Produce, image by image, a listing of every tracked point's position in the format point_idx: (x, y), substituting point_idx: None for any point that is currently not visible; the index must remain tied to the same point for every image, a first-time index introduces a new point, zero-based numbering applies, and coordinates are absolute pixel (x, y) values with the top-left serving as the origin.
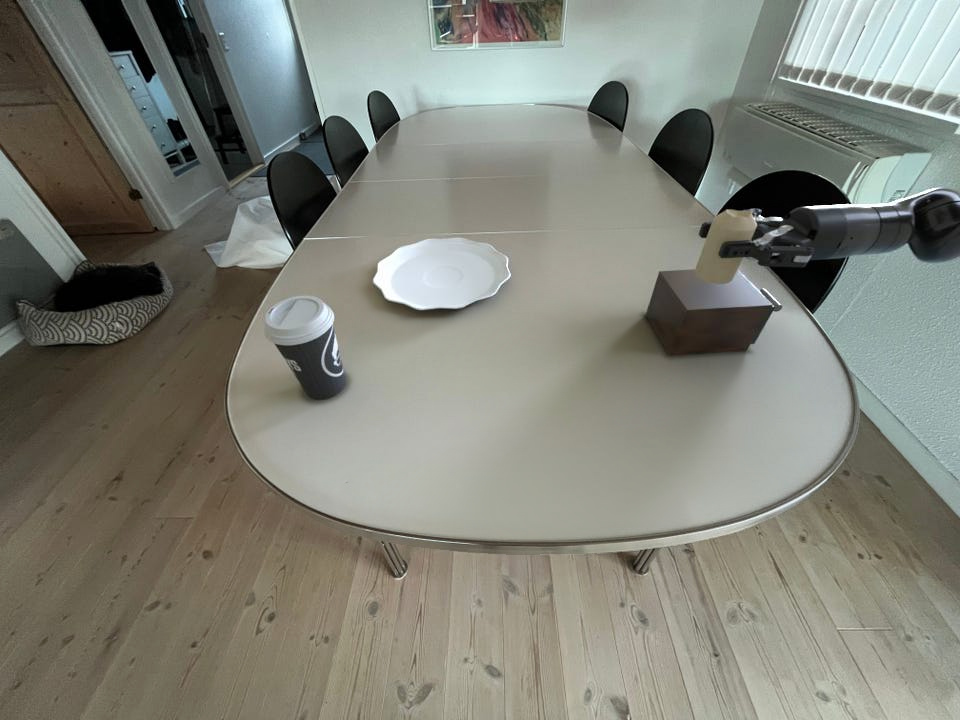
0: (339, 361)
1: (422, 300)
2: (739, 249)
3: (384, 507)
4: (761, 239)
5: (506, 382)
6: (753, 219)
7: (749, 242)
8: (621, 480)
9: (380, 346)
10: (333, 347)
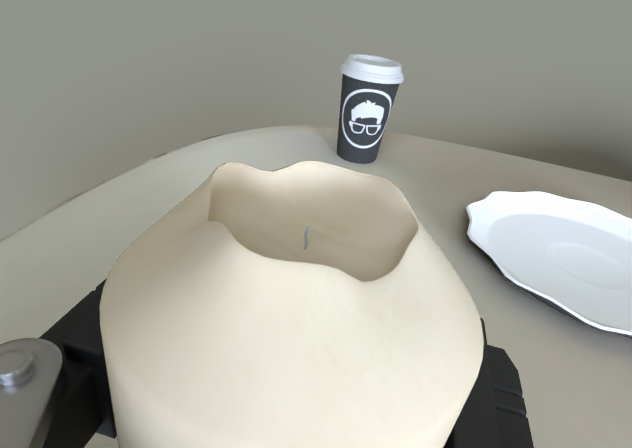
0: (356, 130)
1: (506, 228)
2: (103, 284)
3: (197, 151)
4: (3, 432)
5: None
6: (170, 284)
7: (78, 326)
8: (50, 272)
9: (407, 187)
10: (356, 107)
